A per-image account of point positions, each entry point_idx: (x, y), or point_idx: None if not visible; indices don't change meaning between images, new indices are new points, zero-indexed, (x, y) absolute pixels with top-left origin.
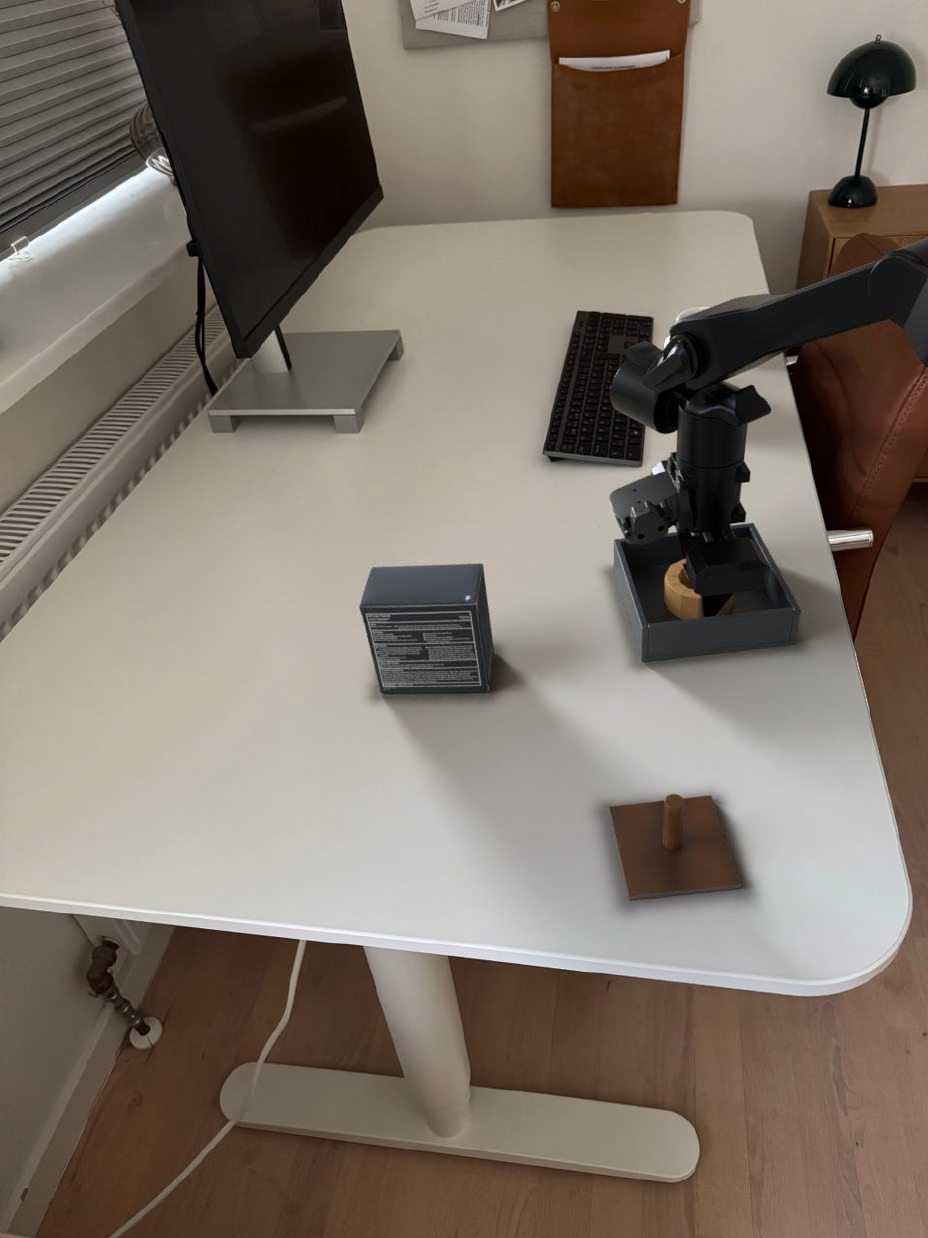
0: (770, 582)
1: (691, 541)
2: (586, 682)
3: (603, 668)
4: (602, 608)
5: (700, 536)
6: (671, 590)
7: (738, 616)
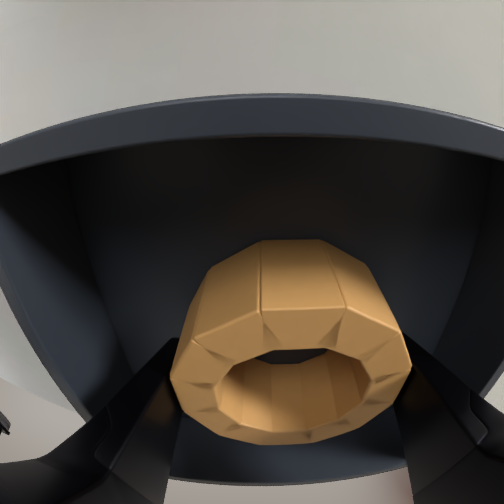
0: (265, 453)
1: (432, 430)
2: (21, 4)
3: (50, 29)
4: (340, 26)
5: (424, 456)
6: (245, 307)
7: (83, 418)
